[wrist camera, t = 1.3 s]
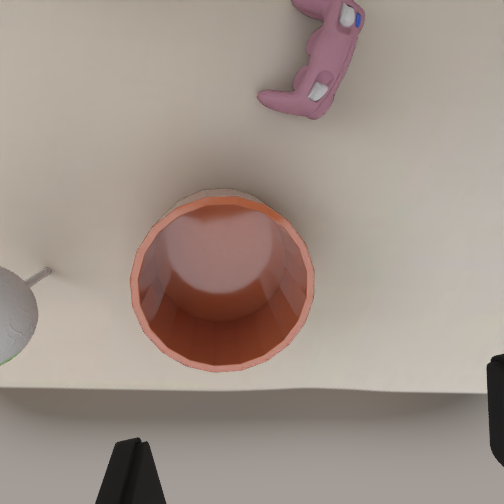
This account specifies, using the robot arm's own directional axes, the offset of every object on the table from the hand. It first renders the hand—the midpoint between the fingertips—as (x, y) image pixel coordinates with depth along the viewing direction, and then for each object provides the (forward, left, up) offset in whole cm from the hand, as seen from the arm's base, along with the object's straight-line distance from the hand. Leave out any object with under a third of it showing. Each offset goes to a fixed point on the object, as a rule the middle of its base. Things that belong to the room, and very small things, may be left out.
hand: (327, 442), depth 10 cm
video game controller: (-5, +16, -29) cm, 34 cm away
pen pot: (-1, -3, -29) cm, 29 cm away
